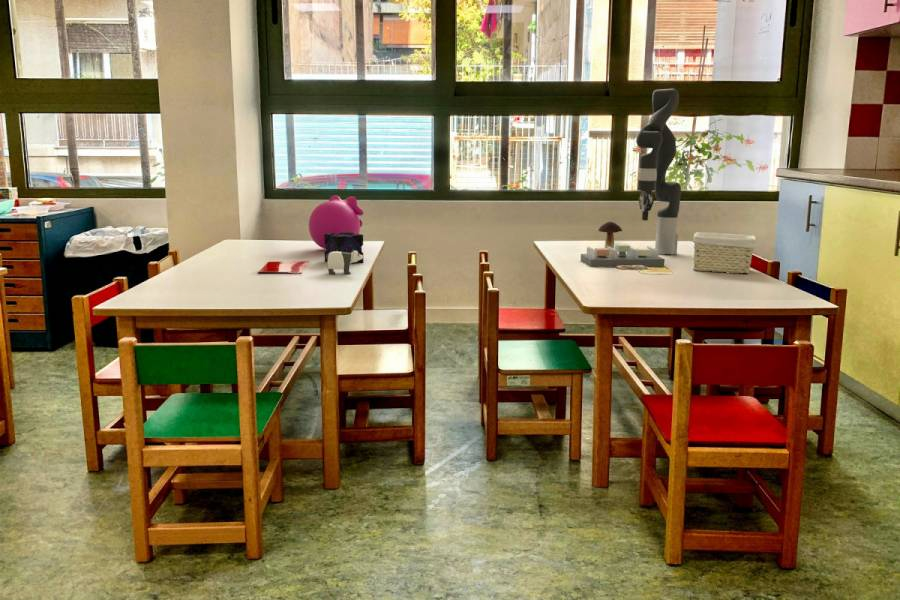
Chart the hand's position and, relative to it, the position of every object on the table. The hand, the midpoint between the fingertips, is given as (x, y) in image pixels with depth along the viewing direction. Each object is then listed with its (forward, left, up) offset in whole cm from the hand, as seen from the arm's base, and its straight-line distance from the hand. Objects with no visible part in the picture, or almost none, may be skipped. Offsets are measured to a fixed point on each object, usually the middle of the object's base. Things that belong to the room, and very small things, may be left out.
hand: (644, 220), depth 331 cm
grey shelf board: (+9, 0, -19) cm, 21 cm away
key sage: (+9, 0, -15) cm, 18 cm away
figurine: (+133, -42, -19) cm, 141 cm away
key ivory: (0, 0, -17) cm, 17 cm away
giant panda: (+127, +21, -19) cm, 131 cm away
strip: (+9, +13, -19) cm, 24 cm away
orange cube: (+18, 0, -17) cm, 25 cm away
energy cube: (+128, -7, -19) cm, 130 cm away
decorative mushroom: (+6, -28, -19) cm, 34 cm away
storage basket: (-27, +19, -19) cm, 38 cm away
